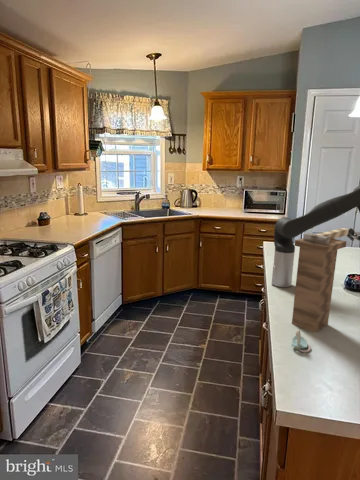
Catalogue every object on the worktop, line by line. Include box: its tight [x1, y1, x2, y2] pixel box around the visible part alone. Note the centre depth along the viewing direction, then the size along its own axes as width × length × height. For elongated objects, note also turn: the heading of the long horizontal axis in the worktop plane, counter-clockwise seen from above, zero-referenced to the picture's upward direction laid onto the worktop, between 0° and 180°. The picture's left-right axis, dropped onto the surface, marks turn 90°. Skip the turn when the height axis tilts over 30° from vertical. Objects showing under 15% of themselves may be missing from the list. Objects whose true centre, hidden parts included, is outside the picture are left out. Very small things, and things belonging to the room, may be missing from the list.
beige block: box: [302, 227, 350, 245], centre depth 128 cm, size 24×8×2 cm, turn 131°
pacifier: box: [291, 329, 312, 353], centre depth 113 cm, size 7×6×6 cm
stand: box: [291, 238, 347, 333], centre depth 127 cm, size 14×12×32 cm
